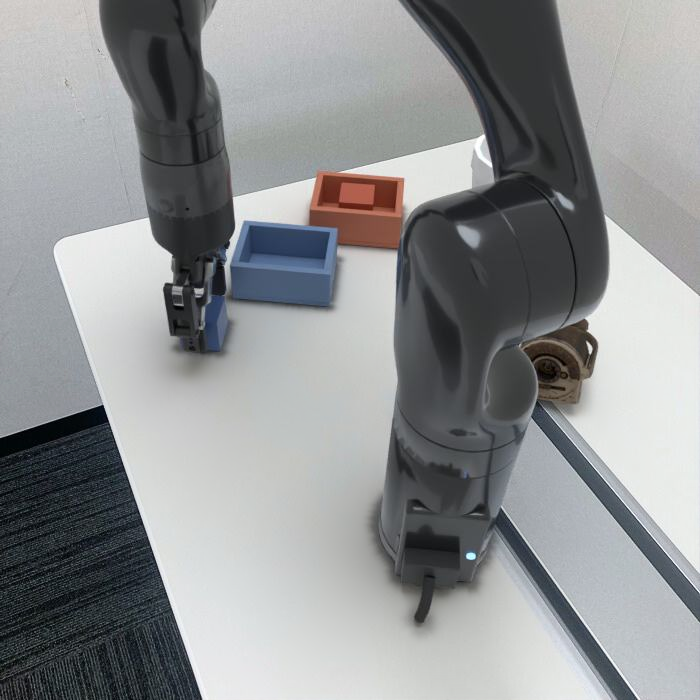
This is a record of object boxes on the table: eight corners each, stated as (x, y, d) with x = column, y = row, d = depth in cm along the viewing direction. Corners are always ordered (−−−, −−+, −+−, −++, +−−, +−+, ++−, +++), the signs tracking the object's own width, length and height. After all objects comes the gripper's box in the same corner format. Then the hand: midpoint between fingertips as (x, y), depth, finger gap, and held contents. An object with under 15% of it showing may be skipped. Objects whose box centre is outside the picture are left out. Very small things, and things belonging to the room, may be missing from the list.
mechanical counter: (475, 334, 72) (567, 373, 66) (550, 264, 78) (641, 294, 72) (481, 387, 77) (567, 428, 71) (551, 317, 83) (637, 349, 77)
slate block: (220, 351, 77) (216, 323, 74) (181, 347, 77) (176, 319, 74) (228, 324, 79) (225, 295, 77) (190, 320, 80) (186, 292, 77)
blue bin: (329, 306, 82) (330, 274, 79) (232, 298, 82) (229, 265, 79) (336, 259, 87) (337, 227, 84) (246, 252, 88) (243, 220, 84)
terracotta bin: (398, 248, 89) (401, 217, 86) (309, 241, 90) (309, 209, 86) (401, 209, 95) (404, 177, 91) (317, 202, 95) (317, 170, 92)
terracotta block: (371, 232, 90) (373, 204, 87) (337, 229, 90) (338, 201, 87) (373, 212, 93) (374, 184, 90) (340, 209, 93) (341, 182, 90)
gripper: (212, 244, 61) (227, 376, 72) (247, 148, 70) (256, 278, 82) (120, 234, 61) (151, 368, 73) (168, 140, 71) (188, 271, 82)
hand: (206, 320), depth 77 cm, fingers open, 8 cm apart
